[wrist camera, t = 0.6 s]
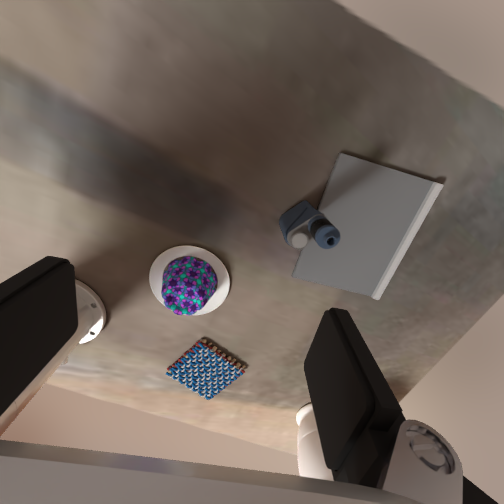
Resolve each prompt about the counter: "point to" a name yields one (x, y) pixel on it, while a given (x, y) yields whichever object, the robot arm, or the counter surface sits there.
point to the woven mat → (205, 370)
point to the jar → (310, 447)
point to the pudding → (189, 280)
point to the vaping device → (308, 227)
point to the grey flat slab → (366, 225)
